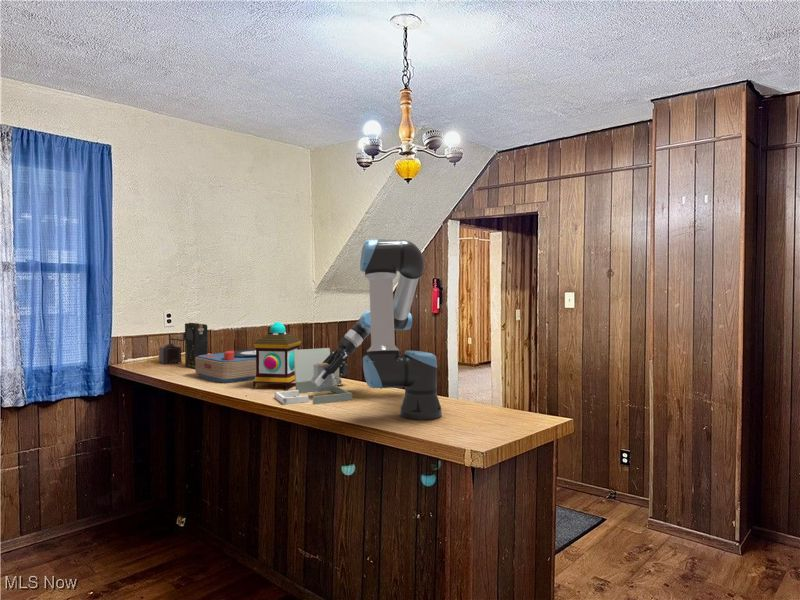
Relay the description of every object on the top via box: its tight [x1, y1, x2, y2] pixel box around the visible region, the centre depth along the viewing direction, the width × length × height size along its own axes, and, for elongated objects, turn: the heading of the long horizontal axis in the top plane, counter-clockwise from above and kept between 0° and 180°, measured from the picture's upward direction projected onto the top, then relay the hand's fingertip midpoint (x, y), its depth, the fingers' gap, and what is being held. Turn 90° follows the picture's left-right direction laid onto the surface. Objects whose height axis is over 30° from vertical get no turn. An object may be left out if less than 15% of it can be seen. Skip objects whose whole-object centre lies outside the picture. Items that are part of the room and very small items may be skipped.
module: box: [314, 363, 333, 393], centre depth 236 cm, size 6×6×11 cm
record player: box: [195, 348, 256, 384], centre depth 293 cm, size 44×36×15 cm
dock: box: [274, 389, 309, 406], centre depth 230 cm, size 14×10×2 cm
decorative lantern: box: [252, 321, 302, 391], centre depth 260 cm, size 20×20×30 cm
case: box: [293, 347, 353, 405], centre depth 237 cm, size 27×18×19 cm, turn 27°
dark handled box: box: [158, 332, 185, 365], centre depth 336 cm, size 16×11×18 cm
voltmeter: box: [184, 322, 209, 370], centre depth 317 cm, size 16×9×25 cm, turn 43°
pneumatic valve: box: [332, 361, 349, 386], centre depth 263 cm, size 6×12×12 cm, turn 60°
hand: (314, 383), depth 234 cm, fingers closed on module, 5 cm apart
